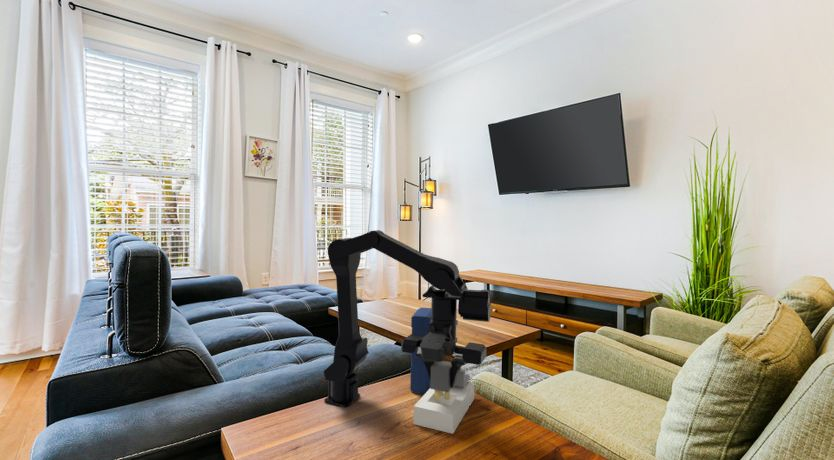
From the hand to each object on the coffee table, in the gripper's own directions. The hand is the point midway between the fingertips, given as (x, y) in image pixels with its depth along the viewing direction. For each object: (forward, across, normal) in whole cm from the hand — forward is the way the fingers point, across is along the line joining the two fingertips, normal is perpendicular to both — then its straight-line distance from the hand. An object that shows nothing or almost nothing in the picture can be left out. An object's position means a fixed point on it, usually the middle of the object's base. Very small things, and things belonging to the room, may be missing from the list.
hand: (442, 385), depth 89 cm
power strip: (+7, 0, +2) cm, 8 cm away
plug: (+3, 0, 0) cm, 3 cm away
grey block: (+3, 0, +9) cm, 10 cm away
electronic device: (+7, -10, +12) cm, 18 cm away
